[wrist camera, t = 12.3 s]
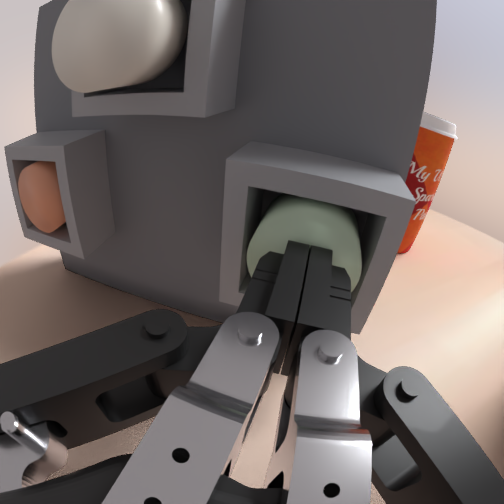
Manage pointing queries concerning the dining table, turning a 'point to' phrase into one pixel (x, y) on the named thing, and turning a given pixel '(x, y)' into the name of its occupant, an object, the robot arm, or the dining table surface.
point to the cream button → (116, 42)
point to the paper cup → (427, 170)
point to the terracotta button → (41, 195)
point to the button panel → (234, 145)
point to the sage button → (308, 232)
